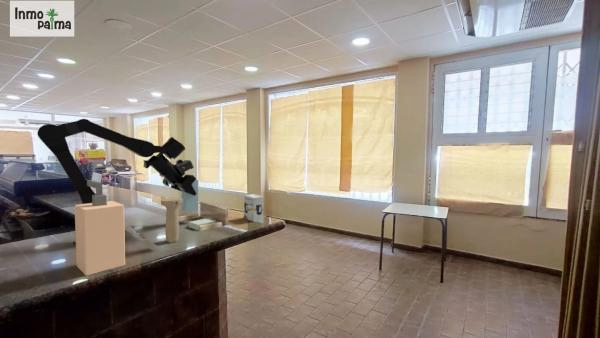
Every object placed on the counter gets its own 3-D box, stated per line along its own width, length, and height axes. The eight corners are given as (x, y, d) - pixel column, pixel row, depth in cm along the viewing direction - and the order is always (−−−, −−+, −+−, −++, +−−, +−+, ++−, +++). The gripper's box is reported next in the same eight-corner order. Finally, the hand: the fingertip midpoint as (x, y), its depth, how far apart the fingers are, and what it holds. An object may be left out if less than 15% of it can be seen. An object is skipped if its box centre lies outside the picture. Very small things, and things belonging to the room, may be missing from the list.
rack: (200, 234, 101) (200, 213, 101) (176, 223, 115) (176, 204, 115) (228, 228, 110) (228, 208, 109) (202, 219, 124) (202, 201, 123)
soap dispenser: (125, 265, 74) (123, 183, 72) (85, 275, 67) (83, 185, 66) (109, 253, 82) (107, 179, 80) (72, 261, 75) (69, 181, 74)
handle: (158, 246, 88) (158, 199, 87) (177, 241, 93) (176, 197, 92) (167, 249, 85) (166, 201, 84) (185, 244, 91) (185, 199, 90)
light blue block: (186, 212, 109) (186, 180, 108) (181, 210, 112) (181, 179, 111) (198, 210, 113) (198, 180, 112) (193, 209, 116) (193, 179, 115)
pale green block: (197, 230, 102) (197, 224, 102) (188, 227, 105) (188, 221, 105) (216, 225, 108) (216, 220, 108) (207, 223, 112) (207, 218, 112)
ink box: (243, 221, 122) (243, 194, 121) (252, 219, 125) (252, 193, 124) (253, 225, 115) (254, 197, 115) (263, 223, 119) (263, 196, 118)
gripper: (191, 153, 102) (217, 181, 110) (170, 152, 115) (195, 177, 123) (169, 175, 97) (199, 203, 105) (150, 172, 109) (178, 197, 118)
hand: (193, 194), depth 113 cm, fingers closed on light blue block, 4 cm apart
